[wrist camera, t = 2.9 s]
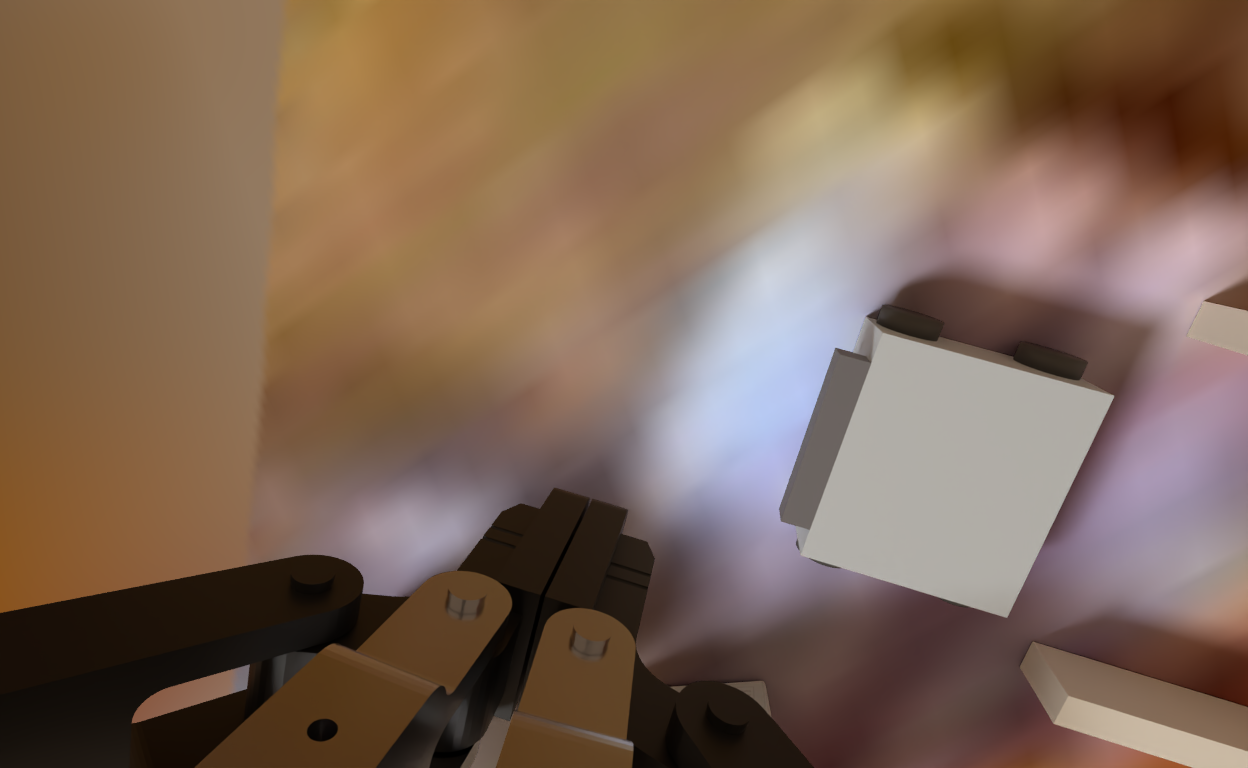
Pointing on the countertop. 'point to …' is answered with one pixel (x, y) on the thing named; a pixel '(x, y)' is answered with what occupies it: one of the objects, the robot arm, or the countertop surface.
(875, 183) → the countertop surface
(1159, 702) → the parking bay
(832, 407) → the white box with feet
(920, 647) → the countertop surface
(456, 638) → the robot arm
